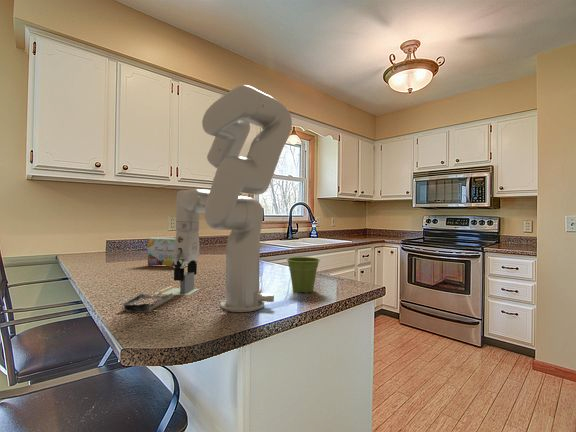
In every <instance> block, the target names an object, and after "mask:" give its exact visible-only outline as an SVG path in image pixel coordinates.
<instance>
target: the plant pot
mask: <svg viewBox="0 0 576 432" xmlns="http://www.w3.org/2000/svg"><path fill="white" fill-rule="evenodd" d="M286 261H287V263H288V267H289V272H290V279H291V287H292V291H294V292H295V293H298V292H299V293H298V294H300V293H304V294H306V293H307V294H308V292H309V293H312V292H314V288H315V281H316V277H317V276H316V275H317V271H318V270H317V269H318V266H319V263H320V261H321V259H320V258H316V257H312V256H311V257H307V256H293V257H288V258H286Z"/></svg>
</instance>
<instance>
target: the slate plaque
mask: <svg viewBox="0 0 576 432" xmlns="http://www.w3.org/2000/svg"><path fill="white" fill-rule="evenodd" d="M179 282H180V284H179V286H180V287H179V288H180V294H186V293H188V292H190V291H192V290H194V289H195V275H194V272H188V273H187V272H186V273H184V280H183V281H179Z"/></svg>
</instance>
